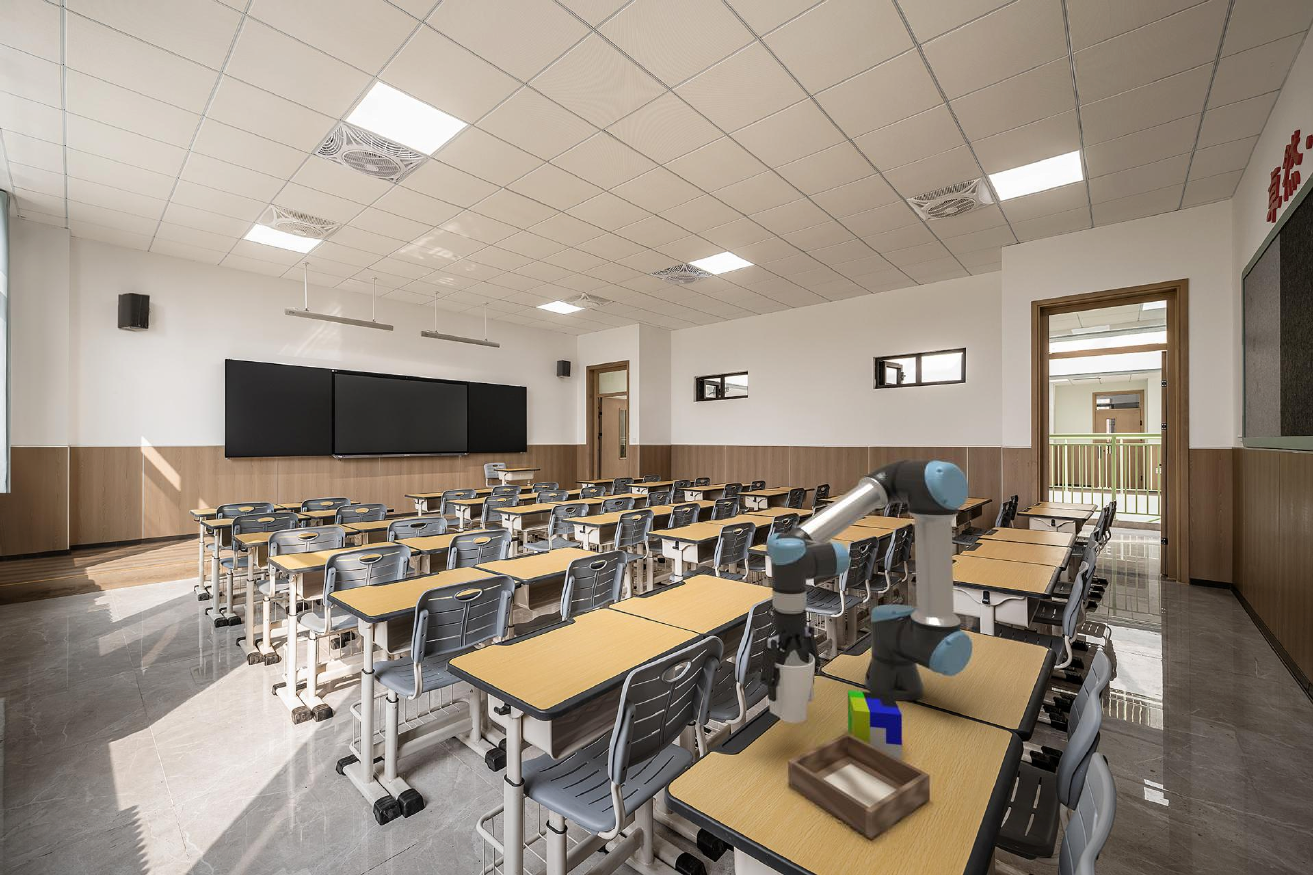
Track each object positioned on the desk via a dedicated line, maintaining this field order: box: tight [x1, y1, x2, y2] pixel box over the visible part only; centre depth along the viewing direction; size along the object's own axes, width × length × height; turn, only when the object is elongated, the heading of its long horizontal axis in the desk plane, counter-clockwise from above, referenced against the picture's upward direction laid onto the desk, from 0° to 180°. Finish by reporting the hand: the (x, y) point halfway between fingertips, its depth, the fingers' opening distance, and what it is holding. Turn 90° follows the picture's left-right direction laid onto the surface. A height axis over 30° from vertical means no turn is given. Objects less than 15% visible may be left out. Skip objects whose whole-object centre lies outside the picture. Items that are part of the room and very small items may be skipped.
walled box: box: [787, 732, 931, 842], centre depth 111 cm, size 19×19×5 cm
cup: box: [773, 648, 815, 724], centre depth 125 cm, size 10×10×14 cm
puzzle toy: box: [847, 690, 903, 761], centre depth 128 cm, size 10×10×10 cm
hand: (792, 706), depth 125 cm, fingers closed on cup, 10 cm apart
